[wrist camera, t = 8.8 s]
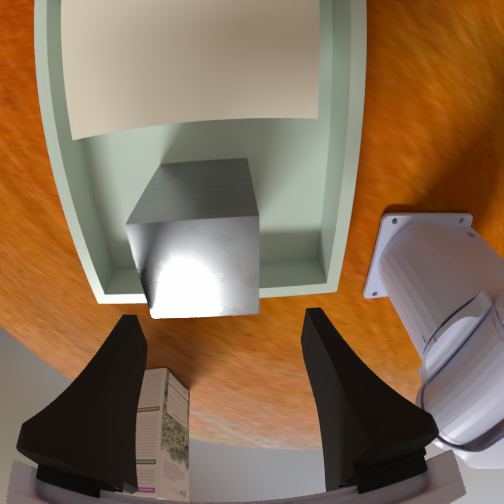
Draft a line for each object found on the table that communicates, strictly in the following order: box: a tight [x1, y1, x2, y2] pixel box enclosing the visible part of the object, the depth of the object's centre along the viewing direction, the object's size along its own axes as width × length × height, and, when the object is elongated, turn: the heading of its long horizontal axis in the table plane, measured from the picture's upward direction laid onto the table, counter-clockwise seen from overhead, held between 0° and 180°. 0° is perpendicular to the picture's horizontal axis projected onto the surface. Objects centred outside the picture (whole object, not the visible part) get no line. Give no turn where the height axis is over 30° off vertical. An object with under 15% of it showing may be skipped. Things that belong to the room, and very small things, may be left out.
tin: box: [125, 158, 259, 318], centre depth 15 cm, size 5×5×7 cm
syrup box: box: [115, 368, 190, 502], centre depth 25 cm, size 6×6×14 cm
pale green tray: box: [34, 0, 367, 304], centre depth 15 cm, size 16×20×4 cm
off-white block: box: [61, 0, 320, 140], centre depth 11 cm, size 10×7×5 cm
